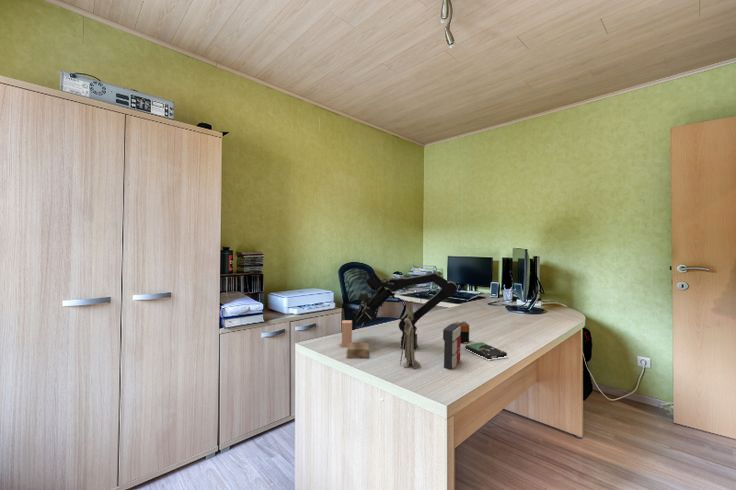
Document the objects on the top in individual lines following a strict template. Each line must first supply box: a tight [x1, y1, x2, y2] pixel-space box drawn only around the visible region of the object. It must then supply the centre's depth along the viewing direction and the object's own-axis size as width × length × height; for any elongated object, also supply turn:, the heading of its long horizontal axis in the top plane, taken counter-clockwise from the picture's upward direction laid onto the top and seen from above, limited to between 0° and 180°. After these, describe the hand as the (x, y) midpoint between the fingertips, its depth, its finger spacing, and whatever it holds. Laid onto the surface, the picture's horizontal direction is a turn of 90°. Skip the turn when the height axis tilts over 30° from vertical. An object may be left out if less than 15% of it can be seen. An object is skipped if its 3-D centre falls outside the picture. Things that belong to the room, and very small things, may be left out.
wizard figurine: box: [399, 300, 422, 370], centre depth 121 cm, size 10×8×25 cm
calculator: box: [442, 323, 462, 370], centre depth 122 cm, size 11×4×15 cm, turn 148°
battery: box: [452, 320, 470, 344], centre depth 151 cm, size 4×7×10 cm, turn 100°
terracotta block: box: [341, 319, 353, 348], centre depth 142 cm, size 4×4×11 cm
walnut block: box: [346, 341, 370, 359], centre depth 131 cm, size 9×9×4 cm
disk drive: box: [464, 342, 508, 359], centre depth 136 cm, size 10×3×15 cm
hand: (355, 321), depth 143 cm, fingers open, 9 cm apart
